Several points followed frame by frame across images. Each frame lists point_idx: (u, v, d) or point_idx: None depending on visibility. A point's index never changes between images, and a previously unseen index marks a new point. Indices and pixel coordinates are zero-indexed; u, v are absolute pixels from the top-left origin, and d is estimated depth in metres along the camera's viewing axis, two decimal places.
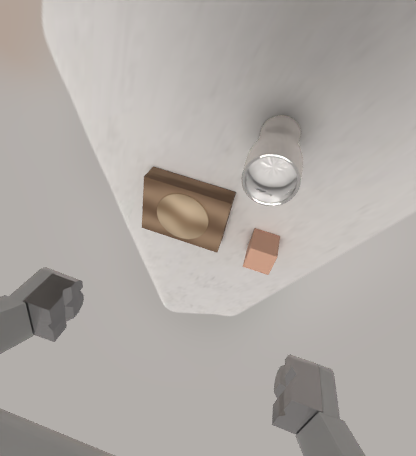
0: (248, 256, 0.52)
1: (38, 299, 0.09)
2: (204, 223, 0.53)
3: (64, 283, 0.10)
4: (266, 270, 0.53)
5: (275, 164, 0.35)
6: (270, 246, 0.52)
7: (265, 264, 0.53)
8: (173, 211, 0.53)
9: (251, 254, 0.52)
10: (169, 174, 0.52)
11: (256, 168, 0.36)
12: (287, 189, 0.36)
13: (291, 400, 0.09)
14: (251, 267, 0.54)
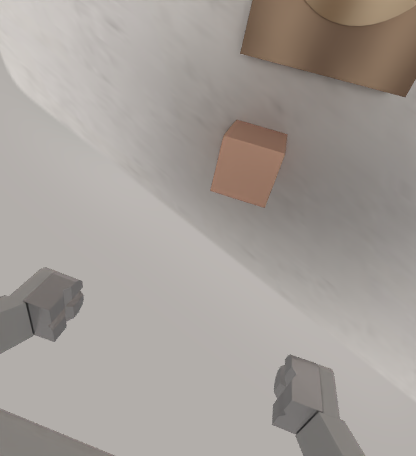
0: (258, 149, 0.23)
1: (38, 299, 0.09)
2: (352, 12, 0.18)
3: (64, 283, 0.10)
4: (222, 187, 0.25)
5: None
6: None
7: (238, 184, 0.24)
8: None
9: (264, 157, 0.23)
10: None
11: None
12: None
13: (291, 400, 0.09)
14: (223, 155, 0.23)
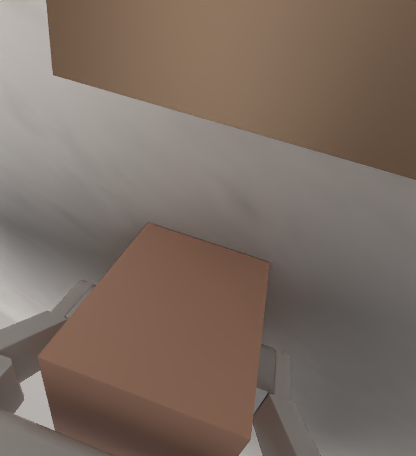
0: (156, 409, 0.06)
1: None
2: None
3: None
4: None
5: None
6: None
7: (121, 451, 0.08)
8: None
9: (181, 428, 0.07)
10: None
11: None
12: None
13: None
14: (58, 395, 0.07)
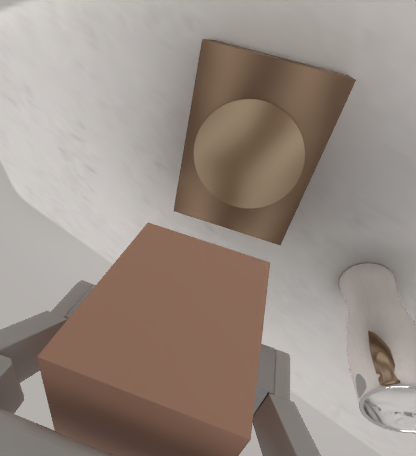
0: (156, 409, 0.06)
1: None
2: (238, 201, 0.28)
3: None
4: None
5: None
6: None
7: (121, 451, 0.08)
8: (262, 143, 0.25)
9: (181, 427, 0.07)
10: None
11: None
12: None
13: None
14: (58, 395, 0.07)
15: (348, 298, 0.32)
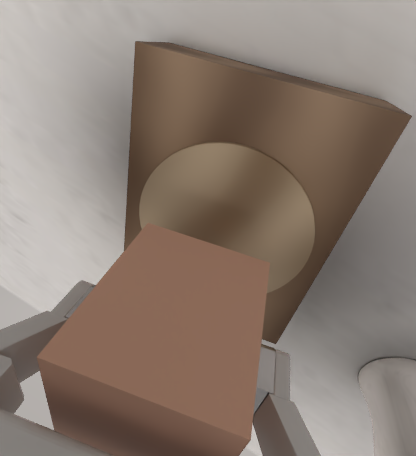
0: (156, 409, 0.06)
1: None
2: None
3: None
4: None
5: None
6: None
7: (121, 452, 0.08)
8: (245, 212, 0.15)
9: (181, 428, 0.07)
10: None
11: None
12: None
13: None
14: (57, 395, 0.07)
15: (374, 413, 0.22)
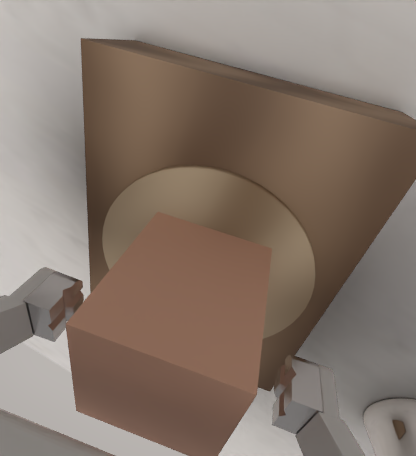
0: (172, 370, 0.07)
1: (38, 299, 0.09)
2: None
3: (64, 283, 0.10)
4: (101, 412, 0.10)
5: None
6: None
7: (137, 417, 0.09)
8: None
9: (194, 388, 0.07)
10: None
11: None
12: None
13: (291, 400, 0.09)
14: (81, 362, 0.08)
15: None
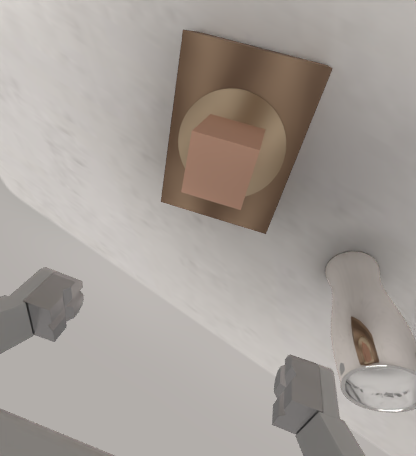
0: (230, 146, 0.20)
1: (38, 299, 0.09)
2: None
3: (64, 283, 0.10)
4: (193, 188, 0.23)
5: None
6: None
7: (210, 185, 0.22)
8: None
9: (237, 154, 0.20)
10: None
11: None
12: None
13: (291, 400, 0.09)
14: (192, 153, 0.21)
15: (333, 285, 0.33)
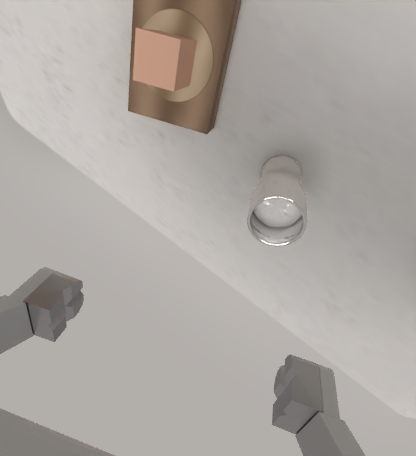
0: (161, 37, 0.30)
1: (38, 299, 0.09)
2: (172, 96, 0.38)
3: (64, 283, 0.10)
4: (141, 75, 0.32)
5: (279, 208, 0.36)
6: (182, 74, 0.33)
7: (151, 72, 0.32)
8: None
9: (166, 44, 0.30)
10: (233, 29, 0.36)
11: None
12: (254, 221, 0.37)
13: (291, 400, 0.09)
14: (137, 46, 0.31)
15: None
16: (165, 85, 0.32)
